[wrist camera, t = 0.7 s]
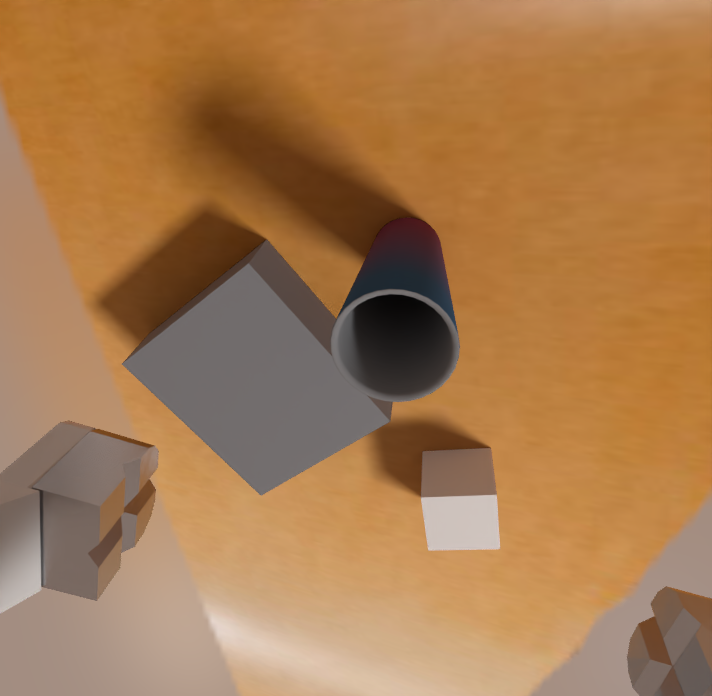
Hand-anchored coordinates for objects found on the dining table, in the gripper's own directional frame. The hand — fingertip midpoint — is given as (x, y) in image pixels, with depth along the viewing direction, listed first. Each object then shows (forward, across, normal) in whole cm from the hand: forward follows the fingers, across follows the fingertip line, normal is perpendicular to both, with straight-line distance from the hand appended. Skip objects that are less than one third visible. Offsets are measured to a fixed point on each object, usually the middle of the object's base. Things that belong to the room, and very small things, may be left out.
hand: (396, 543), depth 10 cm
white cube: (+39, -8, +25) cm, 47 cm away
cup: (+36, +1, +5) cm, 37 cm away
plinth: (+37, +10, +17) cm, 42 cm away
